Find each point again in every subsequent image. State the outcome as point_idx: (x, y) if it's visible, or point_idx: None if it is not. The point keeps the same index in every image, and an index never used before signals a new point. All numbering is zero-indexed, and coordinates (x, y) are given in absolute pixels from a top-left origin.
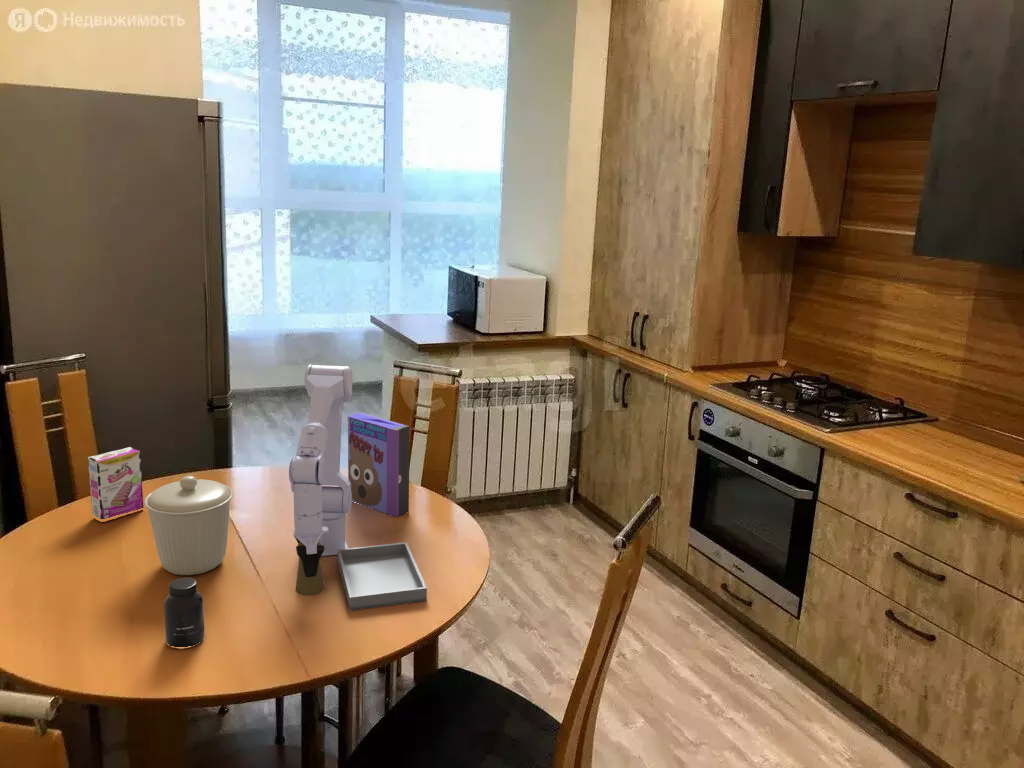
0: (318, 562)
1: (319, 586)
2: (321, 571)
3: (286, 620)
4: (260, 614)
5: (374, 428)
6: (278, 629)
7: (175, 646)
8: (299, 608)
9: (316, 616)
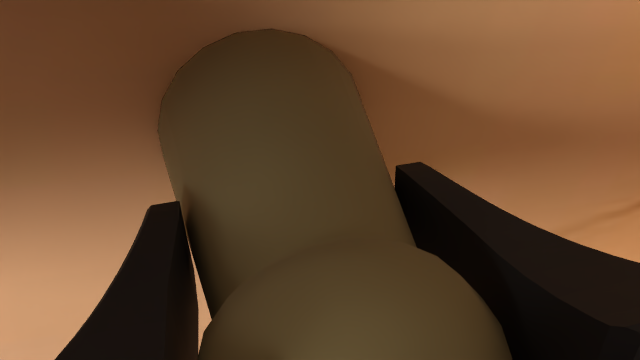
0: (535, 227)
1: (348, 83)
2: (310, 114)
3: (571, 212)
4: None
5: None
6: (625, 232)
7: None
8: (486, 167)
9: (607, 71)
